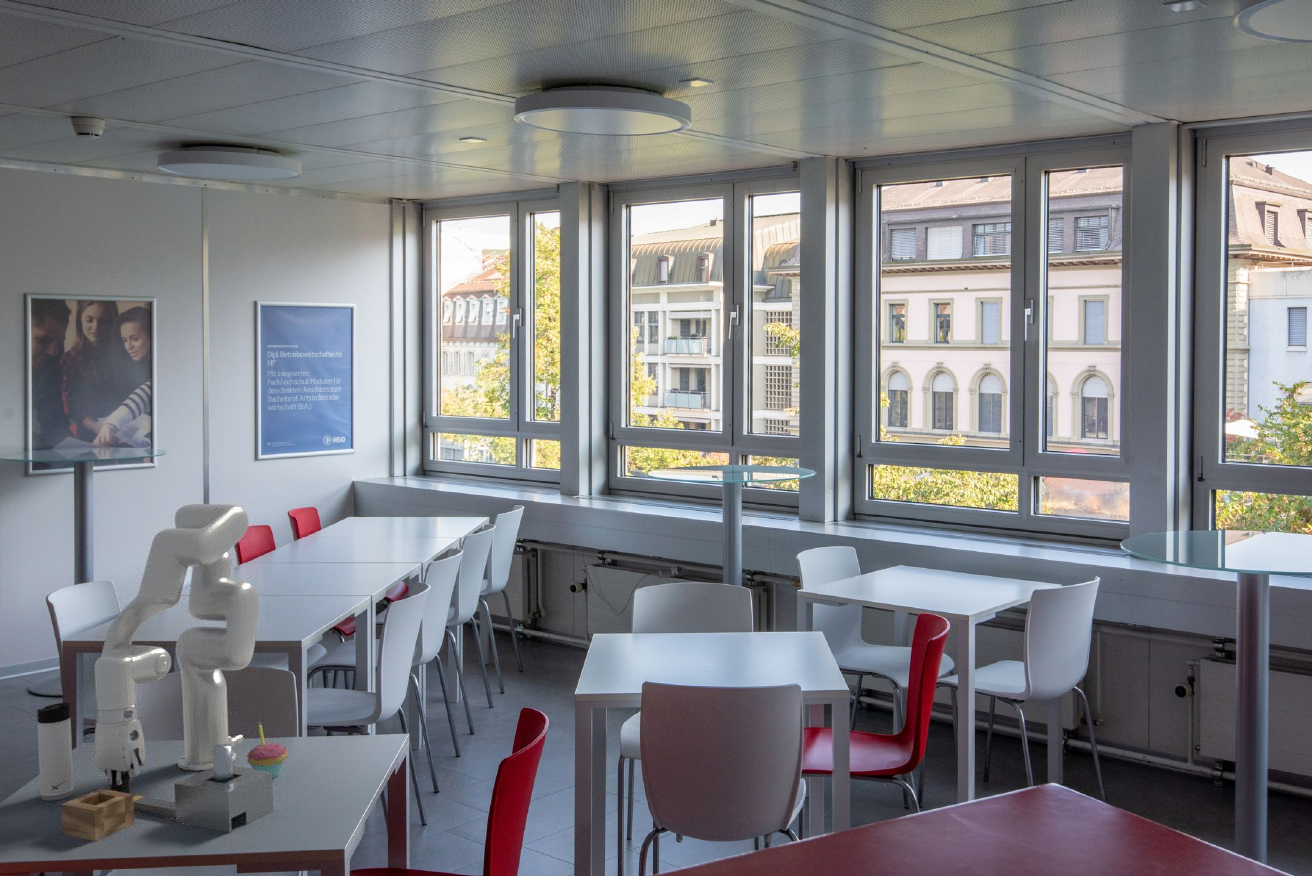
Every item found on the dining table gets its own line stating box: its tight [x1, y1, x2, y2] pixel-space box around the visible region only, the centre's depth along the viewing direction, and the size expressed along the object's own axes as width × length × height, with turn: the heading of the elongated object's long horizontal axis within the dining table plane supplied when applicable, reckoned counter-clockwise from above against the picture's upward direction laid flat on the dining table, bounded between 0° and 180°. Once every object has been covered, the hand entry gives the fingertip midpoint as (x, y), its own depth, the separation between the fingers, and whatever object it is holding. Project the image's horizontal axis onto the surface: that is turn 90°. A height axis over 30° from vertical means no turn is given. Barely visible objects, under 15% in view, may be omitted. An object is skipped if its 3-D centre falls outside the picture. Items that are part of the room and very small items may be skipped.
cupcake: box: [246, 721, 289, 779], centre depth 250 cm, size 9×8×12 cm
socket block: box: [174, 765, 274, 833], centre depth 226 cm, size 12×14×8 cm
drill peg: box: [213, 744, 234, 783], centre depth 226 cm, size 4×4×11 cm
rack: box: [61, 788, 135, 842], centre depth 221 cm, size 9×9×6 cm
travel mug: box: [36, 702, 75, 802], centre depth 239 cm, size 6×7×20 cm
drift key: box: [133, 795, 176, 820], centre depth 228 cm, size 3×16×2 cm, turn 67°
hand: (120, 800), depth 233 cm, fingers closed
